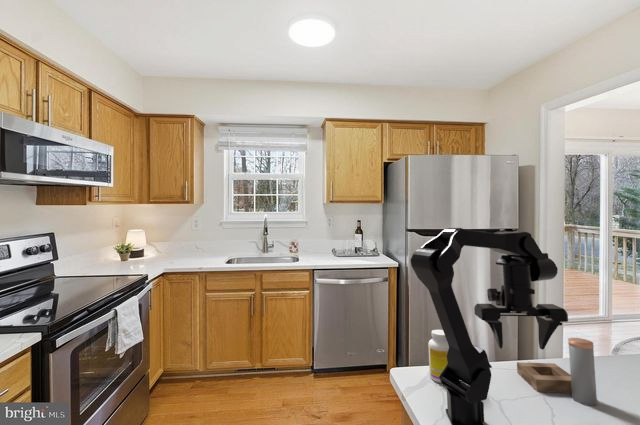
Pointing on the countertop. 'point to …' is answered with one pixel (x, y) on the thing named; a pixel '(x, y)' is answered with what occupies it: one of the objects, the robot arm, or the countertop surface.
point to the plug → (582, 371)
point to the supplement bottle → (437, 354)
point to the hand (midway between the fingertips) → (520, 348)
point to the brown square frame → (545, 377)
